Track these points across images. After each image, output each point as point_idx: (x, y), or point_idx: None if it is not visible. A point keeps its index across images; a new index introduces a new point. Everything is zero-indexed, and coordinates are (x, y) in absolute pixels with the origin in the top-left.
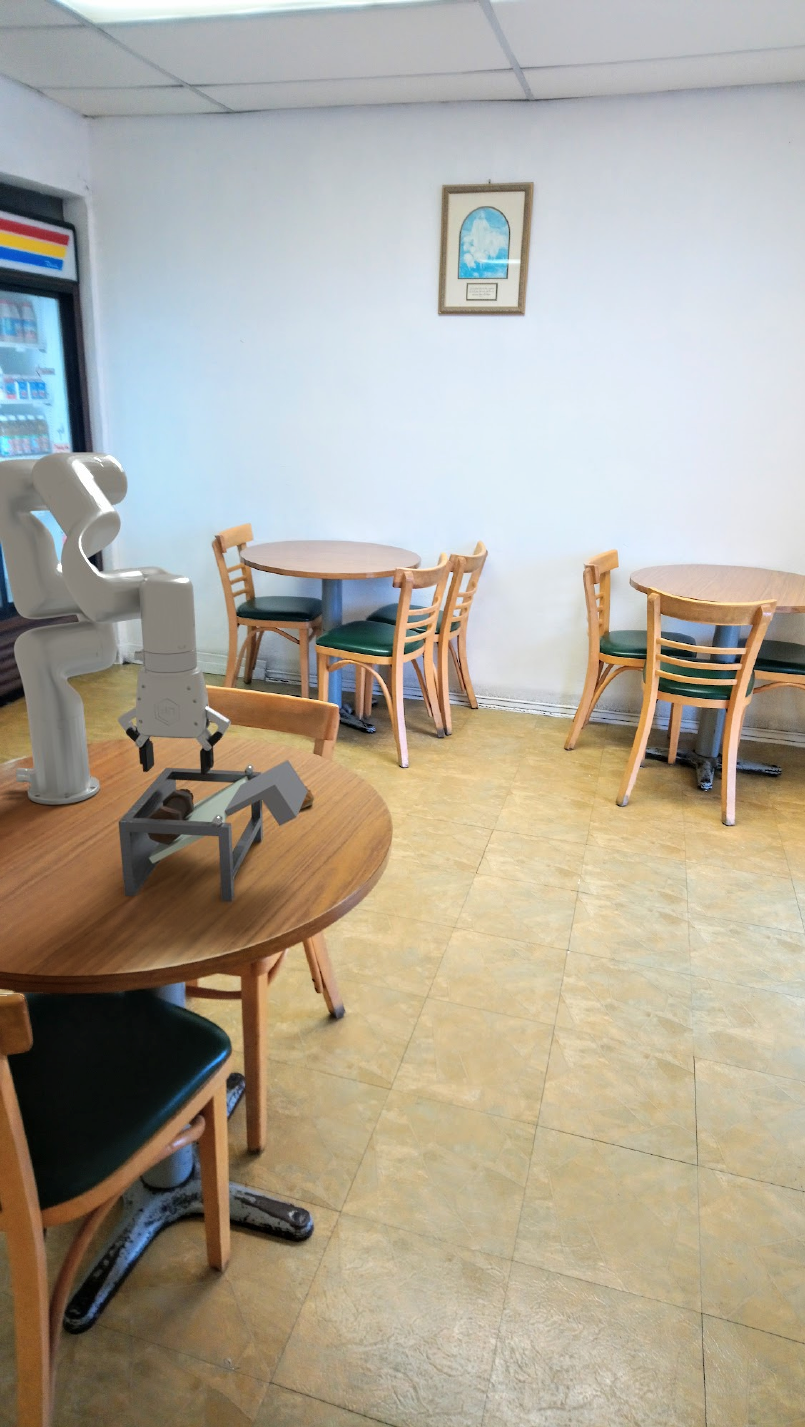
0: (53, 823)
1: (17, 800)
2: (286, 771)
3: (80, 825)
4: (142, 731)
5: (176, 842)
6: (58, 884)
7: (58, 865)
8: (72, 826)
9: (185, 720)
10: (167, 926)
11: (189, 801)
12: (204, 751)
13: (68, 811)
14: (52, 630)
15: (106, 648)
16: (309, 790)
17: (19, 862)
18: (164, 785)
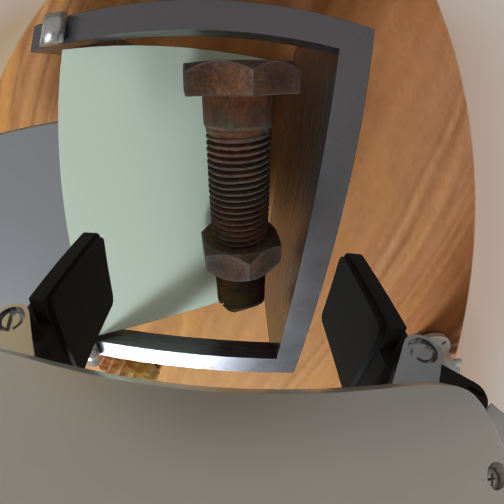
0: (433, 293)
1: (456, 336)
2: None
3: (405, 291)
4: (462, 402)
5: (204, 57)
6: (421, 111)
7: (429, 173)
8: (414, 287)
9: None
10: None
11: (205, 242)
12: (33, 301)
13: (416, 322)
14: None
15: None
16: (100, 367)
17: (469, 188)
18: (286, 305)
